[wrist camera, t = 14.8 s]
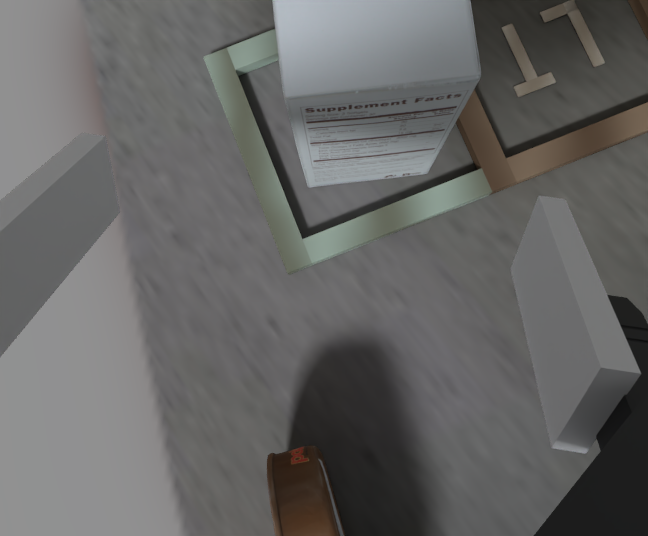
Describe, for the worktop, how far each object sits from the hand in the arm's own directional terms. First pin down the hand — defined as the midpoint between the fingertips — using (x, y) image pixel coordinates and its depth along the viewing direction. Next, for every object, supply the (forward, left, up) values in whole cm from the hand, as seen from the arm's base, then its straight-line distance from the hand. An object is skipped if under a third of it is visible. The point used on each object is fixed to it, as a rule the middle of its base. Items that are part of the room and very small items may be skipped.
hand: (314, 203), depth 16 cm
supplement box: (-5, -7, -15) cm, 17 cm away
